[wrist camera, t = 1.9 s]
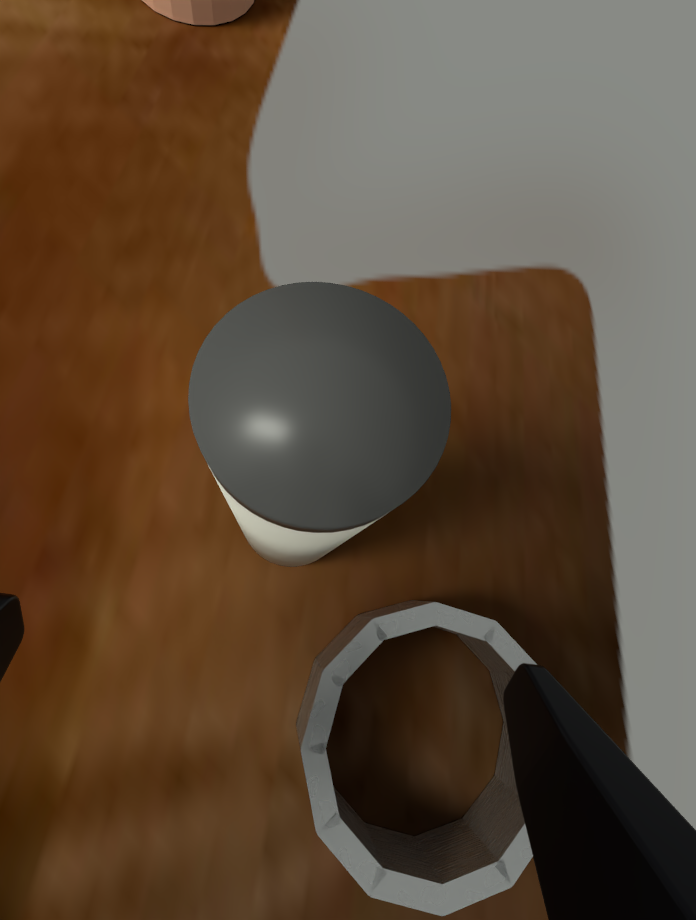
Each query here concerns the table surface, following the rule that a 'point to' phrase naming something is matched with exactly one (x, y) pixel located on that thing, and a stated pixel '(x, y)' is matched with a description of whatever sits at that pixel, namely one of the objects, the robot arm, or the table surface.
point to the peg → (316, 415)
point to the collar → (447, 847)
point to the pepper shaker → (201, 10)
